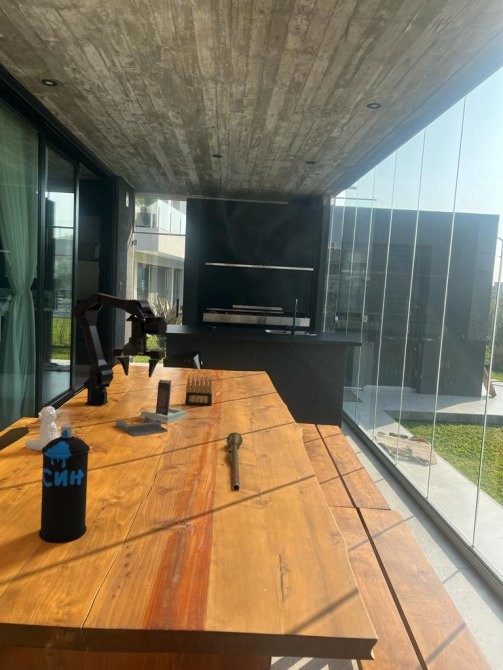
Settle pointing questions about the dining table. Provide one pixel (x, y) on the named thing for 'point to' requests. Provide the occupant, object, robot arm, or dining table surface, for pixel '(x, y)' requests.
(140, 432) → the socket bracket
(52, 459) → the aerosol can
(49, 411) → the sitting furry creature
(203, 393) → the ammunition clip
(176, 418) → the tray
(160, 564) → the dining table surface
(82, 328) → the robot arm
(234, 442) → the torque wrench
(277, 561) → the dining table surface
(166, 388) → the box
